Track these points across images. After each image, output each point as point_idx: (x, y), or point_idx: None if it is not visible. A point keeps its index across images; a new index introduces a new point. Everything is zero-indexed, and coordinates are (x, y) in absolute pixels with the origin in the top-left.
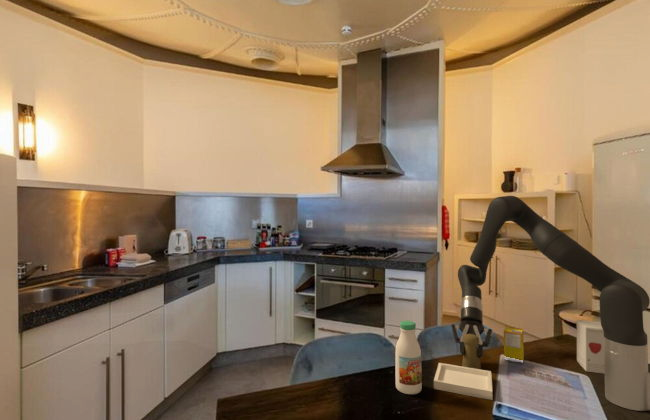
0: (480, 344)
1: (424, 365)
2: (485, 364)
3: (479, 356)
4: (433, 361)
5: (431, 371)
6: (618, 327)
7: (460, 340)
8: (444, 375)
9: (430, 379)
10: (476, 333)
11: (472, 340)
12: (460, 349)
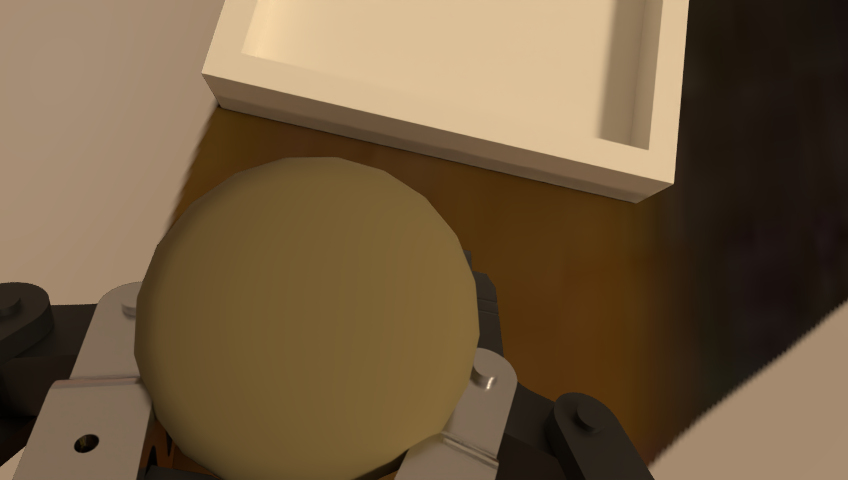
0: None
1: (753, 270)
2: None
3: None
4: (685, 381)
5: (691, 163)
6: None
7: (507, 371)
8: (607, 43)
9: (691, 32)
10: (109, 463)
11: (317, 160)
12: (486, 289)
